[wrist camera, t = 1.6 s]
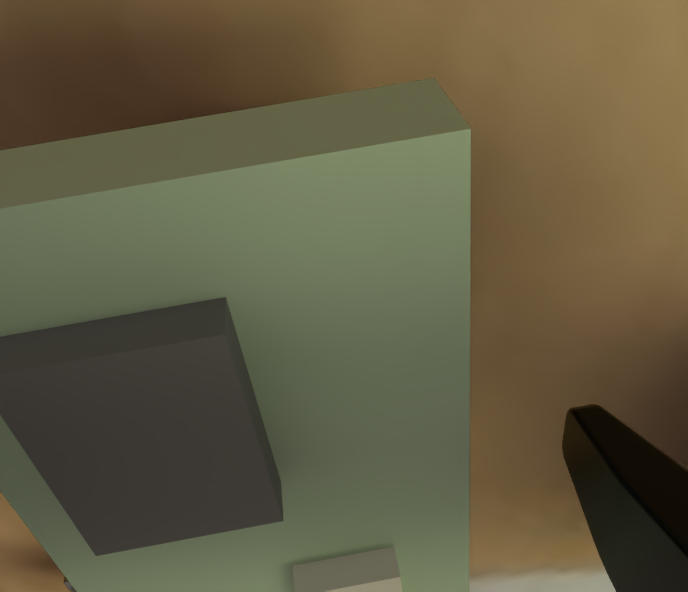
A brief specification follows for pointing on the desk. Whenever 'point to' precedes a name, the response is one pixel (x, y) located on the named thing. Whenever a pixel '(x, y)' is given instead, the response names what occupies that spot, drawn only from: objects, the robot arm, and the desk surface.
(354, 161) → the board
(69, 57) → the desk surface
